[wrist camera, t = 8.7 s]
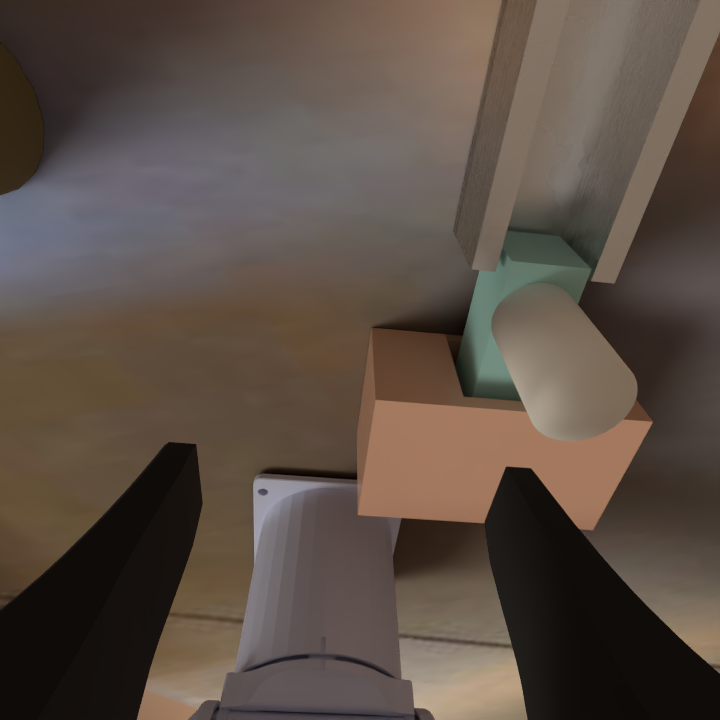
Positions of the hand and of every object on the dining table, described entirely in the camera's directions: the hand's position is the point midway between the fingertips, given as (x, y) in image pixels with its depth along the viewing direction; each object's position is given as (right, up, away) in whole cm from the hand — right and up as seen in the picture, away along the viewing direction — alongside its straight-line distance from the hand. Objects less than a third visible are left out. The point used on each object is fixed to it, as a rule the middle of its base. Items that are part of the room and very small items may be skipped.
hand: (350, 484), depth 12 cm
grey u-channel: (+7, +11, +5) cm, 14 cm away
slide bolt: (+6, +5, +9) cm, 12 cm away
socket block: (+5, +1, +12) cm, 13 cm away
